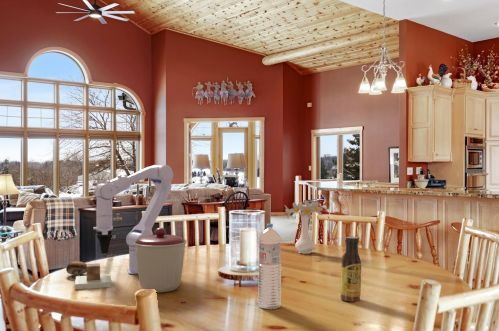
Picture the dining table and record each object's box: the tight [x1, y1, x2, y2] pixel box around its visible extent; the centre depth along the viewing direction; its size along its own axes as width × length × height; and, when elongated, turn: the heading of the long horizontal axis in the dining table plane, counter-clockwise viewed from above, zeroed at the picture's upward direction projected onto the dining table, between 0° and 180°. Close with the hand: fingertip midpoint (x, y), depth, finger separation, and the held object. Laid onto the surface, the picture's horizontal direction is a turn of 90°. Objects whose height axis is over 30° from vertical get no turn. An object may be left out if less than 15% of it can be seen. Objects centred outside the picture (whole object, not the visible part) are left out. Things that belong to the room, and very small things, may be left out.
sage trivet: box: [74, 273, 112, 290], centre depth 172 cm, size 12×12×2 cm
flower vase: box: [284, 200, 324, 255], centre depth 232 cm, size 13×18×25 cm
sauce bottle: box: [340, 236, 362, 303], centre depth 153 cm, size 7×6×20 cm
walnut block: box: [86, 262, 101, 281], centre depth 173 cm, size 4×4×5 cm
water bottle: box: [257, 223, 282, 310], centre depth 146 cm, size 7×7×25 cm
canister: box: [133, 227, 188, 294], centre depth 166 cm, size 18×18×21 cm
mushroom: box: [65, 260, 88, 277], centre depth 185 cm, size 8×8×6 cm
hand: (104, 251), depth 182 cm, fingers open, 7 cm apart
